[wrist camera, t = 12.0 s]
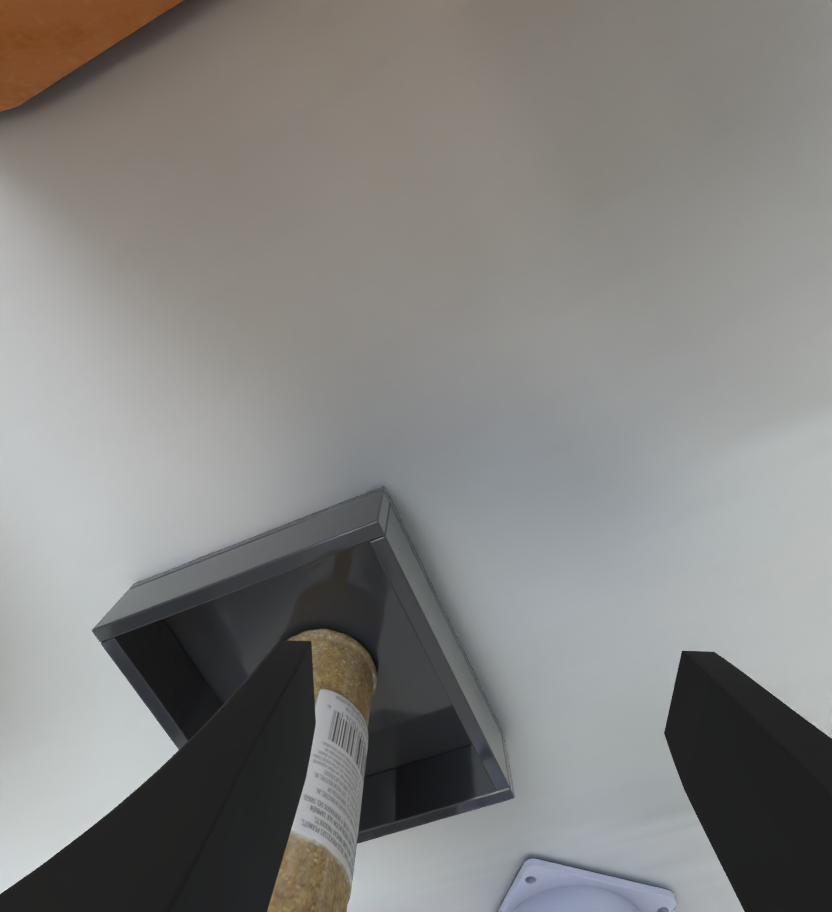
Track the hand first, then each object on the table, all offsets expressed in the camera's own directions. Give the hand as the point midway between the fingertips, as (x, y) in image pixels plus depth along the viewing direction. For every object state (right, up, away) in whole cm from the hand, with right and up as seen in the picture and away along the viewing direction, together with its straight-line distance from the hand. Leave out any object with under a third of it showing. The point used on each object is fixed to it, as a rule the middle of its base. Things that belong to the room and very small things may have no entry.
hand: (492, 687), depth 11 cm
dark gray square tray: (-5, -4, +13) cm, 14 cm away
